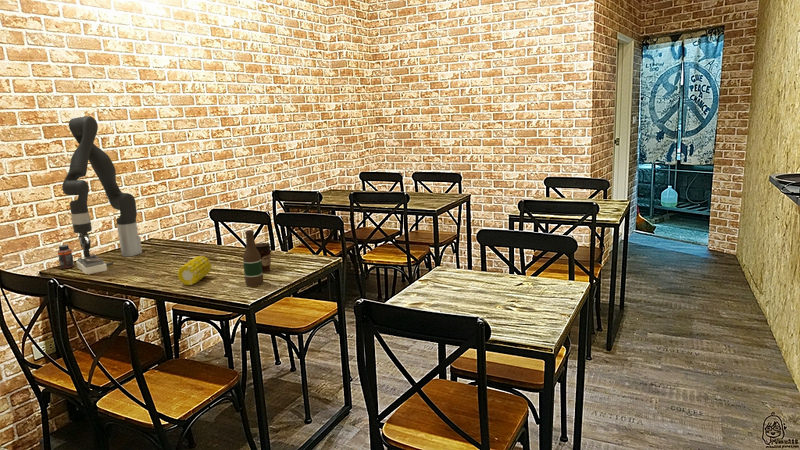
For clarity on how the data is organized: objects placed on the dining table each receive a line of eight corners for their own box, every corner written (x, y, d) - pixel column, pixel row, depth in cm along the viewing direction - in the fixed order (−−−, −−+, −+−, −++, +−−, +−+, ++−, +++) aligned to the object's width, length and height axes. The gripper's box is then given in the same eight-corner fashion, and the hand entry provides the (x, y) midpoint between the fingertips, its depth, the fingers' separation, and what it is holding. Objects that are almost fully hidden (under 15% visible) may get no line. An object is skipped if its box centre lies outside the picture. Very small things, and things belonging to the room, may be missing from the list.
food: (194, 288, 230) (191, 265, 227) (173, 285, 234) (170, 263, 232) (218, 276, 244) (215, 255, 241) (198, 274, 248) (195, 253, 245)
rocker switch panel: (107, 260, 274) (106, 252, 273) (118, 267, 261) (116, 258, 260) (77, 266, 265) (75, 258, 264) (86, 274, 252) (84, 265, 251)
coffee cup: (277, 269, 252) (274, 242, 249) (267, 274, 244) (264, 247, 241) (261, 267, 255) (258, 241, 252) (251, 273, 247) (248, 246, 244)
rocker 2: (98, 261, 261) (98, 258, 261) (100, 263, 258) (101, 260, 258) (84, 262, 257) (84, 259, 257) (87, 263, 254) (87, 260, 254)
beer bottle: (247, 281, 236) (241, 229, 230) (265, 280, 236) (260, 228, 231) (243, 287, 228) (238, 233, 223) (262, 286, 229) (257, 232, 223)
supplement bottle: (77, 265, 267) (73, 243, 265) (69, 269, 262) (64, 247, 259) (66, 265, 268) (62, 243, 265) (57, 269, 262) (53, 247, 260)
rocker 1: (93, 255, 267) (92, 253, 267) (96, 257, 264) (94, 254, 264) (80, 260, 264) (79, 258, 263) (83, 262, 261) (82, 259, 260)
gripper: (94, 222, 249) (99, 258, 253) (86, 218, 259) (92, 252, 263) (75, 225, 244) (82, 261, 248) (69, 221, 254) (75, 256, 258)
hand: (87, 257), depth 255 cm, fingers closed
